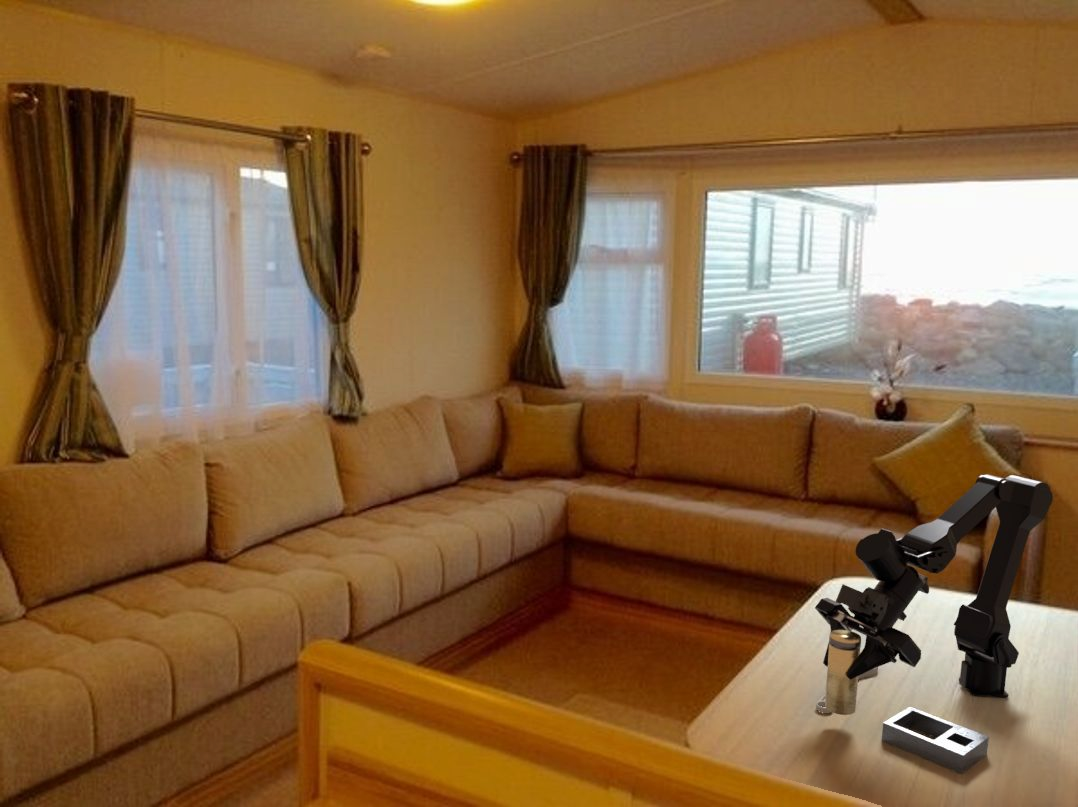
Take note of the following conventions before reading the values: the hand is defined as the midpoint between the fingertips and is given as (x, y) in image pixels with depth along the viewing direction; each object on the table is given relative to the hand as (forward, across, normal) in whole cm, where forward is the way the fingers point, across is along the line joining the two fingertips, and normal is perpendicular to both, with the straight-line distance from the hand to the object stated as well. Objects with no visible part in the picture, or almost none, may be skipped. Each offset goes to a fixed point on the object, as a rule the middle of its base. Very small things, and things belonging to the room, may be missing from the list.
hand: (836, 671), depth 150 cm
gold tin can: (+4, 0, +6) cm, 7 cm away
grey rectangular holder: (0, +11, +14) cm, 18 cm away
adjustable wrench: (-2, -11, +17) cm, 20 cm away
